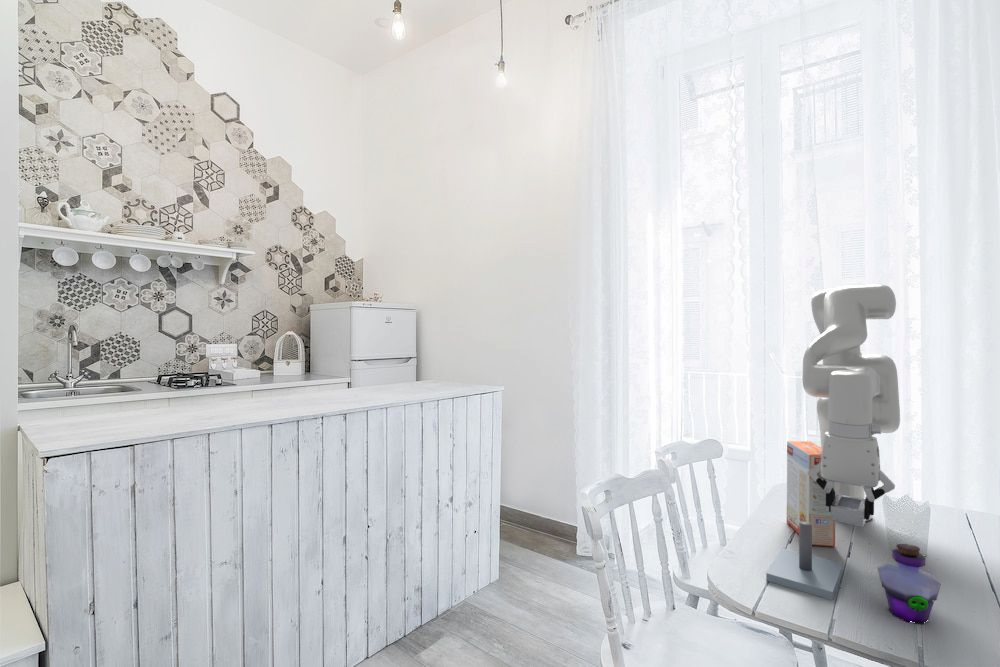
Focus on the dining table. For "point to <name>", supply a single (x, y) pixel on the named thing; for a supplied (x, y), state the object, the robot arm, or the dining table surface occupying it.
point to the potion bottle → (909, 585)
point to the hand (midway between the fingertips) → (849, 512)
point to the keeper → (806, 568)
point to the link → (848, 510)
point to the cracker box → (807, 493)
